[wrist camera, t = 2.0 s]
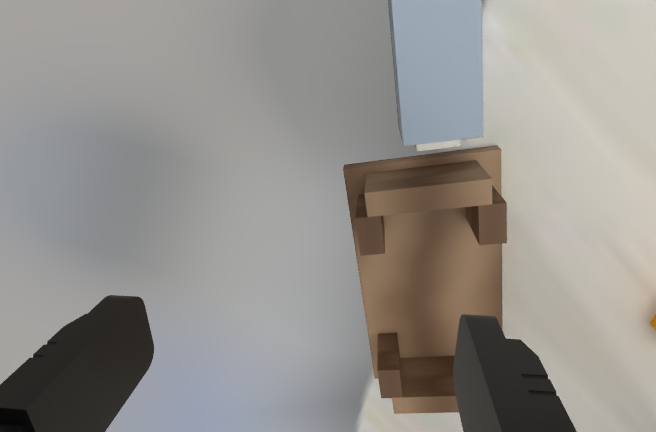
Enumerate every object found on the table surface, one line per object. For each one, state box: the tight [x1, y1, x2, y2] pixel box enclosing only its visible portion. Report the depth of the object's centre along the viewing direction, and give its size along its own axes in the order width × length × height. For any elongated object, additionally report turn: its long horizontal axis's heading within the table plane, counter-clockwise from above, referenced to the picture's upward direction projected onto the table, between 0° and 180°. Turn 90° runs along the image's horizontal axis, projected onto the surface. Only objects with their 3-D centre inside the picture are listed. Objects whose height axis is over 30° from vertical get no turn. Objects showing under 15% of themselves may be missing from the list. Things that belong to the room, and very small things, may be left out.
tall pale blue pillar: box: [388, 0, 483, 151], centre depth 22 cm, size 4×13×6 cm, turn 9°
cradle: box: [343, 146, 507, 414], centre depth 28 cm, size 10×18×5 cm, turn 9°
